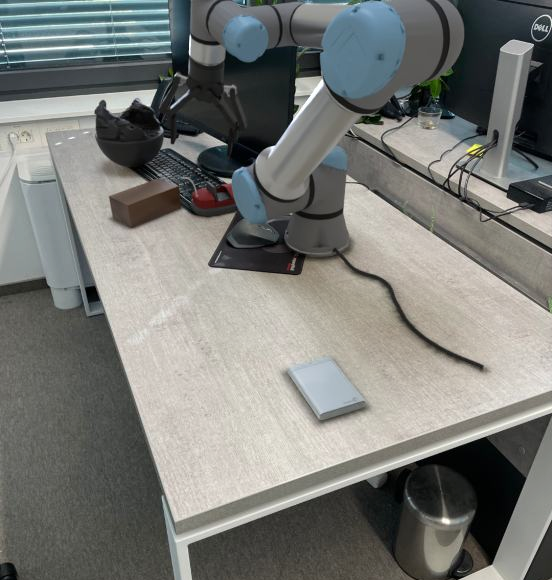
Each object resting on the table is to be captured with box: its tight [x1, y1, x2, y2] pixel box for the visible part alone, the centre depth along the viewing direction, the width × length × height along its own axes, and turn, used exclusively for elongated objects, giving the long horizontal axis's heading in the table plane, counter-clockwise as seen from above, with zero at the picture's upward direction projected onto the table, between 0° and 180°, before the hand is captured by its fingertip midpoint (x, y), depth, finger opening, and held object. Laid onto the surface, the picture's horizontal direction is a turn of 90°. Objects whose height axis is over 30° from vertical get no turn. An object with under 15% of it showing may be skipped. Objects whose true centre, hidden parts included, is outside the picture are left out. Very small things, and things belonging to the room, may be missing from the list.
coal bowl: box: [94, 97, 165, 168], centre depth 171 cm, size 20×20×19 cm
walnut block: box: [108, 177, 182, 228], centre depth 149 cm, size 8×16×6 cm, turn 137°
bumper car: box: [178, 175, 239, 217], centre depth 150 cm, size 10×20×10 cm, turn 120°
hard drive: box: [287, 356, 366, 421], centre depth 96 cm, size 2×8×12 cm
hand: (201, 147), depth 138 cm, fingers open, 13 cm apart
